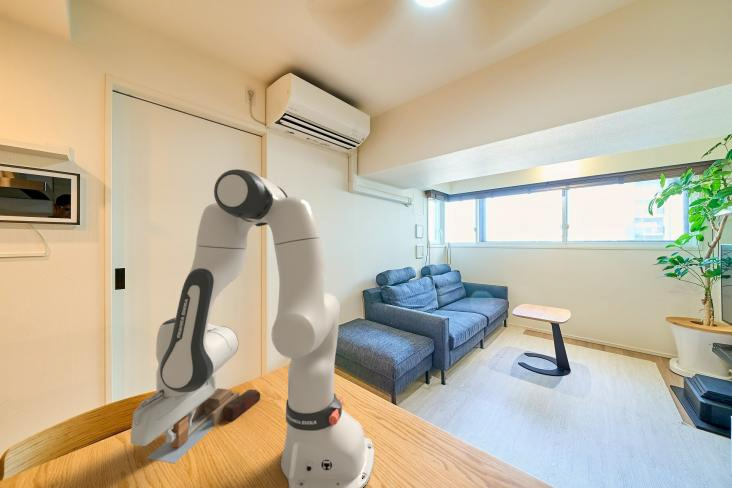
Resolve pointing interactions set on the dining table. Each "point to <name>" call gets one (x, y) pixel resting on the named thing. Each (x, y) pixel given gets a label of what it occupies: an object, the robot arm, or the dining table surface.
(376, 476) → the dining table surface
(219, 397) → the tethered block
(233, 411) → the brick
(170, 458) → the shelf lane
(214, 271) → the robot arm
